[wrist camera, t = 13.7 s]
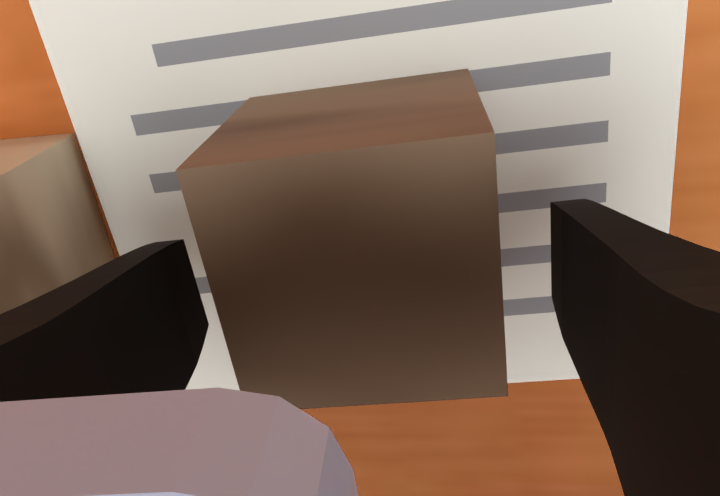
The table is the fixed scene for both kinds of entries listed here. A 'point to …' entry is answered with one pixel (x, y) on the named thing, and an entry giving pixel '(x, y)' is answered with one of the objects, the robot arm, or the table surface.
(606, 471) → the table surface
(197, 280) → the letter
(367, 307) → the walnut block
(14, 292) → the beech block
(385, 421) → the table surface
